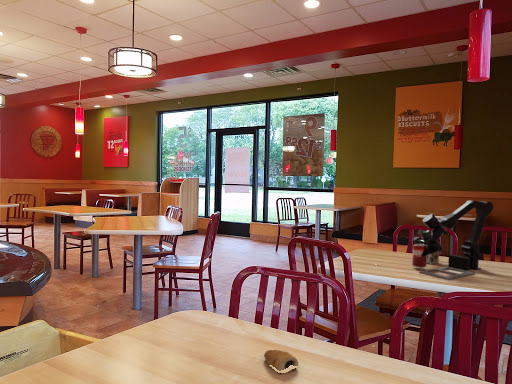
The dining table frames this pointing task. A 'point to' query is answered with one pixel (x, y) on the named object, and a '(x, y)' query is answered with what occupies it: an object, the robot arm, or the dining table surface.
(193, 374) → the dining table surface
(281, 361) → the pastry
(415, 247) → the soda can
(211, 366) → the dining table surface
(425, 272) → the label frame
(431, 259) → the coffee box
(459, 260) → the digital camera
